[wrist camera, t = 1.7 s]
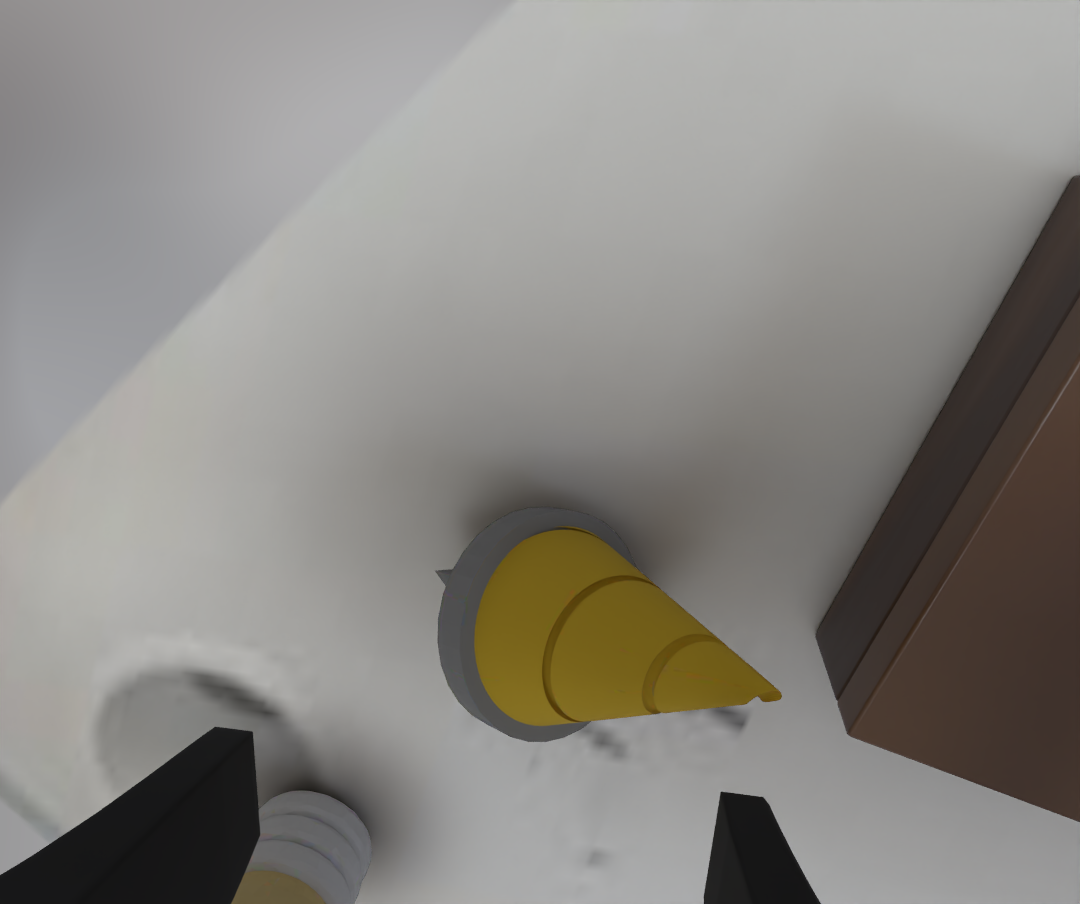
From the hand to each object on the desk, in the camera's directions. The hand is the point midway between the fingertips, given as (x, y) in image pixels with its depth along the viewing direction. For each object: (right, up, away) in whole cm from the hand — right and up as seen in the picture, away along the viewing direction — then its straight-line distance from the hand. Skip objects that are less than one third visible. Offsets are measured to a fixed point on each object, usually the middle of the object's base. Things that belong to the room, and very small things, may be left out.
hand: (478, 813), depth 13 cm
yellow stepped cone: (+2, +3, +9) cm, 10 cm away
